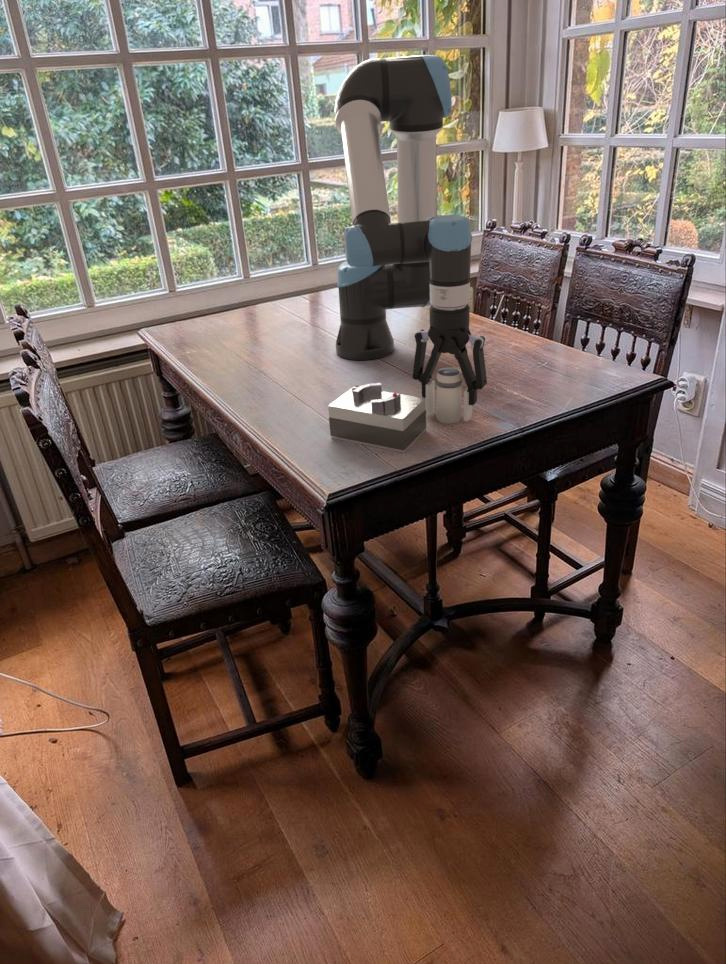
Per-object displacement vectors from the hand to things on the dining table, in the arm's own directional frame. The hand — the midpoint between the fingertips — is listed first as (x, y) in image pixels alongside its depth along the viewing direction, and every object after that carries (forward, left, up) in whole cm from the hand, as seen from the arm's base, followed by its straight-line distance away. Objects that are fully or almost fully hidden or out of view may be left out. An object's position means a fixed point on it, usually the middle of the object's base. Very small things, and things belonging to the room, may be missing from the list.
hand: (448, 415), depth 139 cm
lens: (0, 0, -1) cm, 1 cm away
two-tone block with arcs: (-10, -12, -1) cm, 16 cm away
